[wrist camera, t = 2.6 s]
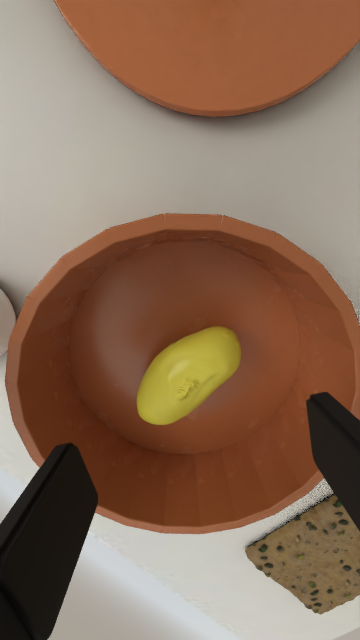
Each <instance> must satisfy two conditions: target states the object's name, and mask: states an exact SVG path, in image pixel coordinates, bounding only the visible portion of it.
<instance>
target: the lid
mask: <svg viewBox="0 0 360 640" xmlns="http://www.w3.org/2000/svg"><path fill="white" fill-rule="evenodd" d="M54 2H55V3H56V5H57V7H58V8H59V10H60V12H61V14H62V15H63V17H64V19H65V20H66V22H67V24H68V25H69V26H70V28H71V29H72V31H73V32H74V33H75V35H76V36H77V37H78V39H79V40H80V41H81V43H82V44H83V45H84V47H85V48H86V49H87V50H88V51H89V52H90V53H91V55H92V56H93V57H94V58H95V59H96V60H97V61H98V62H99V63H100V64H101V65H102V66H103V67H104V68H105V69H106V70H107V71H108V72H109V73H111V74H112V75H113V76H114V77H115V78H117V79H118V80H119V81H120V82H121V83H123V84H124V85H125V86H127V87H128V88H130V89H131V90H133V91H135V92H136V93H138V94H139V95H141V96H143V97H144V98H146V99H148V100H150V101H152V102H155V103H157V104H159V105H161V106H164V107H166V108H168V109H172V110H176V111H179V112H183V113H187V114H191V115H200V116H210V117H220V116H237V115H241V114H246V113H251V112H256V111H260V110H262V109H265V108H268V107H270V106H273V105H276V104H278V103H281V102H283V101H285V100H287V99H289V98H291V97H292V96H294V95H296V94H298V93H300V92H302V91H303V90H305V89H306V88H308V87H309V86H311V85H312V84H313V83H315V82H316V81H318V80H319V79H320V78H322V77H323V76H324V75H326V74H327V73H328V72H329V71H330V70H331V69H332V68H334V67H335V66H336V65H337V64H338V63H339V62H340V61H341V60H342V59H343V58H344V57H345V56H347V55H348V53H349V52H350V51H351V50H352V49H353V48H354V47H355V45H356V44H357V43H358V42H359V41H360V0H54Z"/></svg>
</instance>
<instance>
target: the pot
mask: <svg viewBox="0 0 360 640" xmlns="http://www.w3.org/2000/svg"><path fill="white" fill-rule="evenodd" d="M215 326H222V327H226V328H229V329H231V330H233V331H234V332H235V333H236V335H237V337H238V339H239V342H240V347H241V360H240V364H239V366H238V368H237V370H236V371H235V373H234V374H233V375H232V376H231V377H230V378H229V379H228V380H226V381H225V382H224V383H223V384H222V385H220V386H219V387H218V388H217V389H216V390H215V391H214V392H213V393H212V394H211V395H210V396H209V397H208V398H207V399H206V400H205V401H204V402H203V403H202V404H200V405H199V406H198V407H196V408H195V409H194V410H193V411H192V412H190V413H189V414H188V415H186V416H184V417H182V418H181V419H179V420H177V421H175V422H173V423H170V424H166V425H156V424H151V423H149V422H146V421H145V420H143V419H142V418H141V417H140V416H139V414H138V410H137V403H136V397H137V391H138V388H139V385H140V383H141V380H142V378H143V376H144V374H145V372H146V370H147V369H148V367H149V366H150V364H151V363H152V361H153V360H154V358H155V357H156V356H157V355H158V354H159V353H161V352H162V350H164V349H166V348H167V347H168V346H169V345H170V344H172V343H173V342H174V343H175V342H177V341H178V340H180V339H182V338H184V337H186V336H188V335H191V334H193V333H196V332H199V331H201V330H204V329H207V328H210V327H215ZM5 386H6V391H7V396H8V401H9V406H10V411H11V415H12V420H13V422H14V426H15V428H16V430H17V432H18V433H19V435H20V437H21V439H22V441H23V443H24V445H25V447H26V449H27V451H28V453H29V455H30V457H31V458H32V460H33V461H34V462H35V463H36V464H37V465H38V466H39V467H41V466H42V464H43V463H44V461H45V460H46V458H47V457H48V456H49V454H50V453H51V451H52V450H53V449H54V447H55V446H57V445H60V444H65V443H73V444H74V445H76V446H77V447H78V449H79V451H80V453H81V456H82V458H83V460H84V463H85V465H86V468H87V470H88V472H89V475H90V477H91V479H92V482H93V484H94V486H95V489H96V491H97V493H98V504H97V508H96V510H95V513H97V514H100V515H102V516H104V517H107V518H109V519H111V520H114V521H116V522H118V523H121V524H123V525H126V526H131V527H135V528H140V529H145V530H149V531H154V532H159V533H173V534H205V533H211V532H217V531H223V530H229V529H235V528H239V527H243V526H246V525H248V524H251V523H254V522H256V521H259V520H262V519H264V518H267V517H269V516H272V515H275V513H278V512H280V511H281V510H283V509H284V508H286V507H287V506H289V505H291V504H292V503H294V502H295V501H297V500H298V499H300V498H302V497H303V496H305V495H306V494H308V492H310V491H311V490H312V489H313V488H314V487H315V486H316V485H317V484H318V483H319V482H320V481H321V480H322V479H323V478H324V477H323V475H322V474H321V472H320V471H319V469H318V468H317V466H316V464H315V462H314V459H313V456H312V448H311V440H310V432H309V424H308V415H307V407H306V400H307V399H310V395H311V394H316V393H321V392H328V393H329V394H330V395H332V396H333V397H334V398H335V399H336V400H337V401H338V402H339V403H341V404H342V405H343V406H344V407H345V408H346V409H347V410H349V411H350V412H351V413H352V414H353V415H354V416H355V417H356V418H358V419H359V420H360V325H359V322H358V319H357V316H356V314H355V311H354V308H353V305H352V304H351V301H350V300H349V299H348V297H347V296H346V295H345V293H344V292H343V291H342V290H341V288H340V287H339V286H338V284H337V283H336V282H335V280H334V279H333V278H332V277H331V275H330V274H329V273H328V271H327V270H326V269H325V267H324V266H323V265H322V264H321V263H320V262H319V261H317V260H316V259H314V258H313V257H311V256H310V255H309V254H307V253H306V252H304V251H303V250H301V249H300V248H299V247H297V246H296V245H294V244H293V243H291V242H290V241H288V240H287V239H286V238H284V237H283V236H281V235H280V234H278V233H276V232H274V231H271V230H268V229H265V228H262V227H259V226H256V225H252V224H249V223H246V222H243V221H240V220H237V219H234V218H231V217H228V216H225V215H223V216H222V215H210V214H169V213H166V214H159V215H156V216H152V217H148V218H144V219H141V220H137V221H133V222H129V223H126V224H122V225H118V226H114V227H111V228H109V229H106V230H104V231H103V232H101V233H99V234H98V235H96V236H94V237H93V238H91V239H90V240H88V241H86V242H85V243H83V244H81V245H80V246H78V247H77V248H75V249H73V250H72V251H70V252H68V253H67V254H65V255H64V256H62V258H60V259H59V260H58V261H57V263H56V264H55V265H54V266H53V267H52V268H51V270H50V271H49V272H48V273H47V274H46V275H45V276H44V278H43V279H42V280H41V281H40V282H39V283H38V284H37V286H36V287H35V288H34V289H33V290H32V291H31V292H30V294H29V295H28V296H27V298H26V300H25V303H24V305H23V307H22V310H21V312H20V314H19V317H18V319H17V321H16V323H15V326H14V328H13V330H12V333H11V335H10V337H9V343H8V354H7V364H6V374H5Z"/></svg>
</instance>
